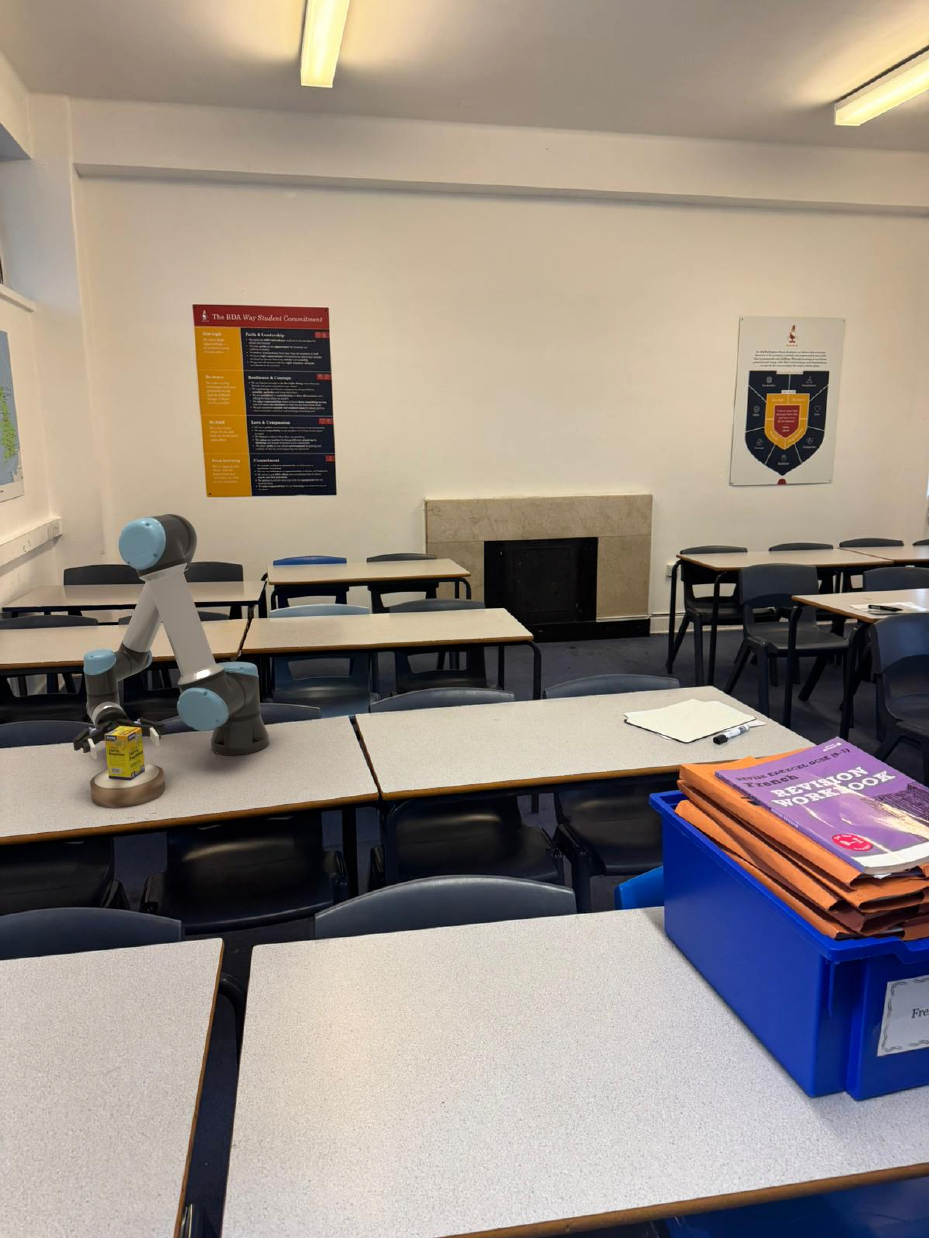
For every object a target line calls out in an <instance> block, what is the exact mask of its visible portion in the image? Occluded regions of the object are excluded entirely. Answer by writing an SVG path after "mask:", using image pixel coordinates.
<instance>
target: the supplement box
mask: <svg viewBox="0 0 929 1238" xmlns="http://www.w3.org/2000/svg"><path fill="white" fill-rule="evenodd" d="M104 743H105V752H106V753H105V754H106V764H107V765H106V766H107V769H108V775H109V778H110V779H121V780H132V779H133V778H134V777H136V776H137V775H139V774H141V773H143V772H144V771H145V764H146V763H145V754H144V743H143V736H142V731H141V728H138V727H125V726H119V727H118V728H116V729H115V730H113V731H111V732H109V733H106V734H105V741H104Z"/></svg>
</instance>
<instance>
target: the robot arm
mask: <svg viewBox="0 0 929 1238" xmlns="http://www.w3.org/2000/svg"><path fill="white" fill-rule="evenodd" d="M197 543H198V536H197V531H196V530H195V527H194V525H193V524H192V523H191V522H190V521H189V520H188V519H187V518H185V517H183V516H181V515H179V514H175V513H167V514H162V515H154V516H146V517H145V516H144V517H140V518H138V519H135V520H132V521H130V522H129V523H127V525H125V527H123V529H122V531H121V533H120V535H119V537H118V551H119V554H120V556H121V559H122V560H123V561H124V562H125V564H126V565H129V566H130V567H131V568H132V569H135V570H136V573H137V576H138V578H139V579H140V580H142V581H143V582H145V583H144V585H143V588H142V591H141V592H140V595H139V598H138V600H137V603H136V606H135V608H134V611H133V613H132V616H131V619H130V620H129V622H128V626H127V628H126V631H125V632H124V636H123V639H122V641H121V642H120V645H119V648H118V649H117V650H116V651H113V650H112V649H96V650H92V651H91V650H90V651H88V652H86V653H85V654H84V655H83V672H84V673H83V674H84V682H85V690H86V700H87V702H86V713H87V715H88V717H89V718H90V719H91V721H92V723H93V725H94V727H95V728H92V727H90V726H88V725H86V726H83V729H82V730H81V732H80V733H79V734H78V735H76V737H74V738H73V740H72V743H73V751H80V750H81V749H82V752H83V753H84V754H88V753H89V754H90V755H91V757H92V760H97V758H98V757H97V747H96V745H98V743H101V742H105V734H106V733H109V732H111V731H113V730H115V729H116V728H118V727H119V726H125V727H138V728H141V731H142V737H149V738H150V740H151V742H152V743H153V744H154V746H155V748H158V747H160V746H161V745H160V740H161V739H162V736H164V735H166V726H165V725H166V724H165V723H161V722H157V721H153V720H150V719H146V718H145V717H142V716H140V717H138V719H137V721H136V720H135V721H132V719H131V720H130V718H129V717H128V715H127V714H126V712H125V711H124V709H123V708H122V707H121V705H120V704H121V703H120V695H119V684H118V683H119V682H120V681H122V680H124V679H126V678H128V677H131V676H132V675H136V674H139V673H140V672H142V671H144V670H145V669H146V668H148V667H149V666H150V665H151V664H152V662H153V654H152V650H151V648H152V646H153V643H154V641H155V639H156V637H157V634H158V631H159V629H160V627H161V624H162V625H163V629H164V630H165V634H166V637H167V639H168V642H169V644H170V647H171V649H172V652H173V656H174V658H175V661H176V663H177V667H178V669H179V671H180V678H179V679H178V681H177V685H178V689H179V691H180V695H179V697H178V700H177V703H176V709H177V713H178V715H179V717H180V719H181V720H182V722H183V723H185V725H187V726H188V727H190V728H192V729H193V730H197V731H202V732H207V731H208V732H209V731H212V735H211V738H210V748H211V751H212V752H214V753H216V754H218V755H225V756H241V755H248V754H253V753H256V752H258V751H259V752H260V751H261V750H263V749H265V748H267V746H268V745H269V744H270V742H269V738H270V737H269V733H268V731H267V728H266V725H265V723H264V721H263V719H262V716H261V702H260V701H261V699H260V682H259V681H260V680H259V678H260V676H259V672H258V667H257V665H256V664H254V663H252V662H245V661H227V662H218V663H217V662H216V661H215V658H214V654H213V652H212V650H211V649H212V648H211V646H210V643H209V641H208V638H207V635H206V632H205V630H204V626H203V625H202V621H201V619H200V615H199V613H198V611H197V607H196V604H195V602H194V598H193V596H192V593H191V590H190V587H189V585H188V582H187V579H186V576H185V574H184V573H185V571H187V570H189V569H190V565H191V563H192V561H193V558H194V556H195V553H196V550H197Z"/></svg>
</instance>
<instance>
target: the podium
mask: <svg viewBox="0 0 929 1238" xmlns="http://www.w3.org/2000/svg"><path fill="white" fill-rule="evenodd" d="M144 764H145V771H144V772H143V773H141V774H139V775H137V776H136V777H134V778H133V779H132V780H121V779H110V778H109V775H108V768H107V769H105V770H103V771H101V772H99V773H97V774H96V775H94V776H93V777H92V778H91V779H90V782H89V787H90V788H89V789H90V796H91V802H92V803H93V804H94V805H96V806H98V807H101V808H107V809H108V808H111V809H120V808H130V807H135V806H139V805H143V804H145V803H148V802H152V801H153V800H155V799H158V797H160V796H161V795H162V794H163V793H164V792H165V790H166V785H165V784H166V783H165V774H164V773H165V772H164V770H163V768H162V767H160V766H158V765H155V764H150V763H149V764H148V763H144Z"/></svg>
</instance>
